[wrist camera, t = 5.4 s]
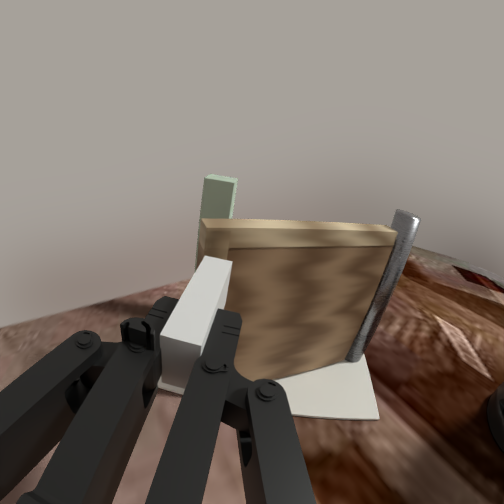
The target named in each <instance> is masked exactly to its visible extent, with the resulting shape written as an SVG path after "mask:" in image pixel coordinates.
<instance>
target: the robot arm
mask: <svg viewBox="0 0 504 504" xmlns="http://www.w3.org/2000/svg"><path fill="white" fill-rule="evenodd" d="M232 262H233V261H228V260H223V259H219V258H214V257H210V256H205V257H204V258H203V260H202V262H201V263H200V265H199V267H198V268H197V270H196V272H195V274H194V275H193V277H192V279H191V280H190V282H189V284H188V286H187V287H186V289H185V291H184V293H183V294H182V296H181V298H180V300H178V299H174V298H171V297H167V296H164V297H162V298H161V299H159V300H157V301H156V302H155V304H154V305H153V307H152V309H151V310H150V311H149V313H148V315H147V316H146V317H145V319H144V318H137V317H136V318H129V319H127V320H124V321H123V322H122V323H121V324H120V328H121V336H122V342H118V343H113V342H101V339H100V337H99V336H98V335H97V334H96V333H95V332H92V331H87V330H84V331H79V332H77V333H75V334H73V335H72V336H71V337H69V338H68V339H67V340H65V341H64V342H63V343H61V344H60V345H59V346H57V347H56V348H55V349H54V350H52V351H51V352H50V353H48V354H47V355H46V356H44V357H43V358H42V359H41V360H39V361H38V362H37V363H36V364H34V365H33V366H32V367H30V368H29V369H28V370H27V371H25V372H24V373H23V374H22V375H20V376H19V377H18V378H17V379H16V380H14V381H13V382H12V383H11V384H9V385H8V386H7V387H6V388H4V389H3V390H2V391H1V392H0V501H1V500H2V499H3V498H4V497H5V496H6V495H7V494H8V493H9V492H10V491H11V490H12V489H13V488H14V487H15V486H16V485H17V484H18V483H19V482H20V481H21V480H22V479H23V478H24V477H25V476H26V475H27V474H28V473H29V472H30V471H31V470H32V469H33V468H34V467H35V466H36V465H37V464H38V463H39V462H40V461H41V460H42V459H43V458H44V457H45V456H46V455H47V454H48V453H49V452H50V451H51V450H52V448H53V447H54V446H55V445H56V444H57V443H58V442H59V441H60V440H61V441H60V443H59V445H58V447H57V448H56V450H55V452H54V454H53V456H52V458H51V459H50V461H49V463H48V465H47V467H46V469H45V471H44V473H43V475H42V477H41V479H40V481H39V483H38V485H37V486H36V488H35V489H34V490H33V491H31V492H27V493H24V494H23V495H22V496H21V497H20V498H19V499H18V501H17V503H16V504H112V502H113V499H114V497H115V494H116V491H117V489H118V486H119V484H120V481H121V479H122V476H123V474H124V471H125V469H126V466H127V464H128V461H129V459H130V456H131V454H132V451H133V449H134V446H135V444H136V442H137V439H138V437H139V434H140V432H141V429H142V427H143V425H144V422H145V420H146V418H147V415H148V413H149V411H150V408H151V406H152V403H153V401H154V399H155V397H156V394H157V391H158V381H159V379H160V377H161V380H162V383H166V384H169V385H172V386H176V387H179V388H183V389H185V391H184V394H183V396H182V399H181V402H180V405H179V407H178V410H177V413H176V416H175V419H174V421H173V424H172V427H171V430H170V433H169V436H168V438H167V441H166V444H165V447H164V450H163V453H162V456H161V458H160V461H159V464H158V467H157V470H156V473H155V476H154V479H153V482H152V485H151V487H150V490H149V493H148V496H147V499H146V502H145V504H202V500H203V496H204V491H205V487H206V483H207V478H208V474H209V470H210V465H211V461H212V457H213V452H214V448H215V444H216V439H217V435H218V430H219V426H220V422H223V423H225V424H227V425H229V426H231V427H233V428H235V429H236V432H237V440H238V448H239V456H240V463H241V470H242V477H243V484H244V491H245V498H246V504H316V501H315V497H314V494H313V490H312V486H311V483H310V479H309V475H308V472H307V468H306V464H305V461H304V457H303V454H302V450H301V446H300V443H299V439H298V435H297V432H296V428H295V424H294V421H293V417H292V413H291V410H290V406H289V402H288V399H287V395H286V392H285V390H284V388H283V387H282V386H281V385H280V384H279V383H278V382H276V381H273V380H271V379H257V380H255V381H251V380H249V379H247V378H245V377H243V376H242V375H241V374H239V373H238V372H237V370H236V368H235V366H234V358H235V354H236V349H237V345H238V340H239V335H240V331H241V326H242V318H241V316H240V313H237V312H232V311H228V310H224V307H225V303H226V298H227V292H228V286H229V280H230V274H231V268H232ZM487 416H488V422H489V426H490V429H491V432H492V434H493V437H494V439H495V440H496V442H497V444H498V445H499V447H500V448H501V449H502V451H503V452H504V382H503V383H502V384H501V385H500V386H499V387H498V388H497V389H496V391H495V392H494V393H493V394H492V395H491V397H490V399H489V401H488V406H487Z"/></svg>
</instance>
